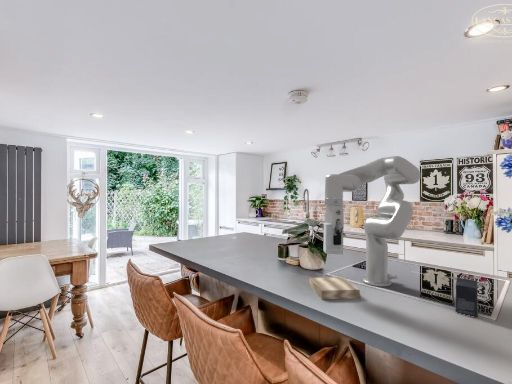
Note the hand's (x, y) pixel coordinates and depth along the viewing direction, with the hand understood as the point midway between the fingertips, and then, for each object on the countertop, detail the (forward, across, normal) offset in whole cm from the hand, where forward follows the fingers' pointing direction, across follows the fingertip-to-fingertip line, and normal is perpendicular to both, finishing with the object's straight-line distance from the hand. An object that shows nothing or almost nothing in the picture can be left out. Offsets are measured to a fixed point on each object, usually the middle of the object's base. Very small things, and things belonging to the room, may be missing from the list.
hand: (332, 242), depth 115 cm
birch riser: (+21, 0, -1) cm, 21 cm away
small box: (+21, -22, -43) cm, 52 cm away
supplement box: (+4, 0, 0) cm, 4 cm away
